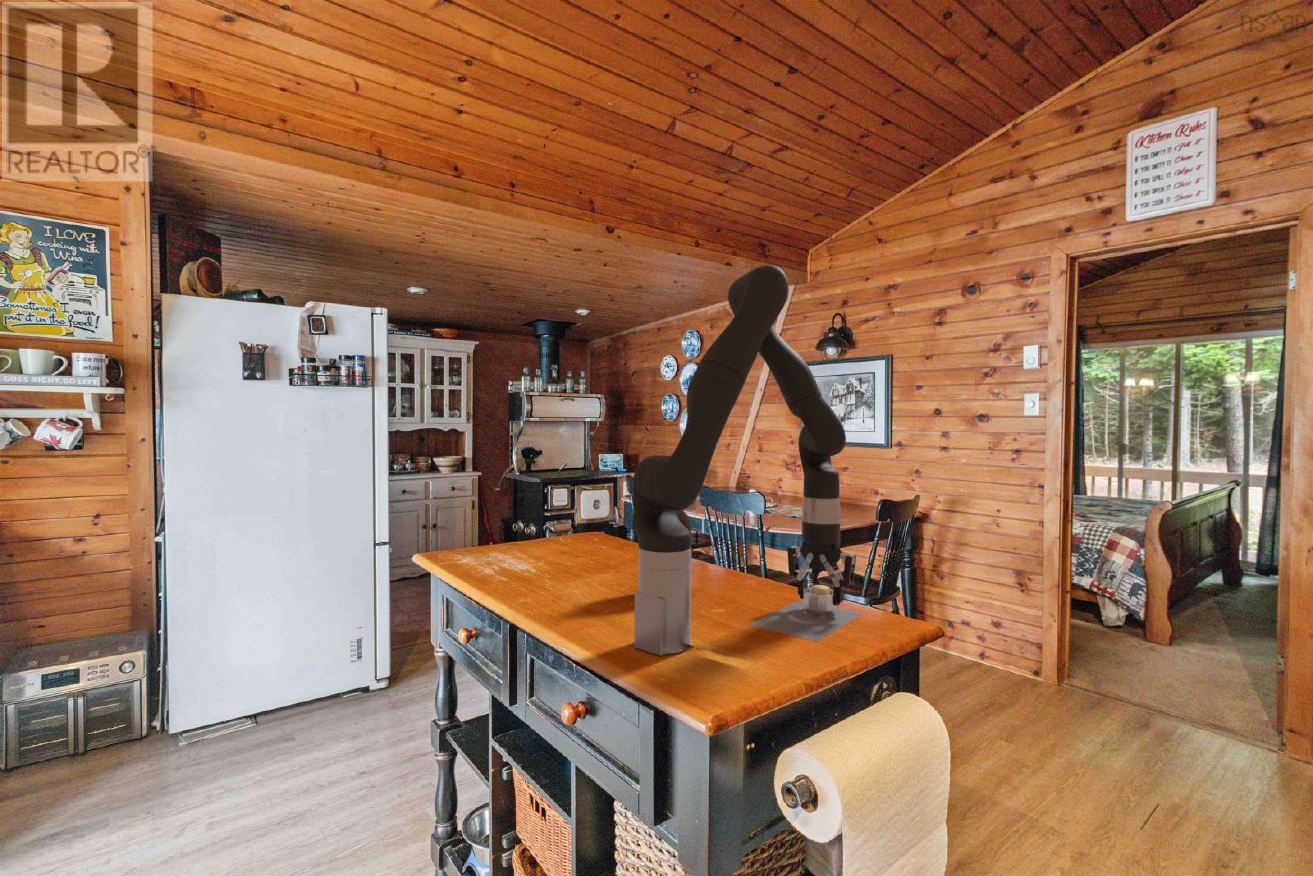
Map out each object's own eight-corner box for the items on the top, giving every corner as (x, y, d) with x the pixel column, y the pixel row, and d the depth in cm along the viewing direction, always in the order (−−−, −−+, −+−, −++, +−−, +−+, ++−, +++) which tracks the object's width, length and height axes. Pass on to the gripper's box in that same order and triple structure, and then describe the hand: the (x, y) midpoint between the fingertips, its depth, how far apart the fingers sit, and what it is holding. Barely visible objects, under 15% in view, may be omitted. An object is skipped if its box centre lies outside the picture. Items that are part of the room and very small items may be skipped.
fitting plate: (817, 647, 105) (817, 613, 105) (747, 630, 114) (748, 598, 114) (862, 618, 122) (862, 588, 121) (798, 605, 130) (798, 577, 130)
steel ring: (828, 613, 118) (829, 598, 118) (797, 606, 122) (797, 591, 122) (842, 605, 123) (842, 591, 123) (812, 599, 127) (812, 585, 127)
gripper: (780, 518, 124) (779, 599, 124) (848, 525, 115) (847, 613, 115) (796, 514, 130) (796, 591, 130) (863, 521, 121) (862, 604, 121)
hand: (820, 601), depth 122 cm, fingers closed on steel ring, 6 cm apart
